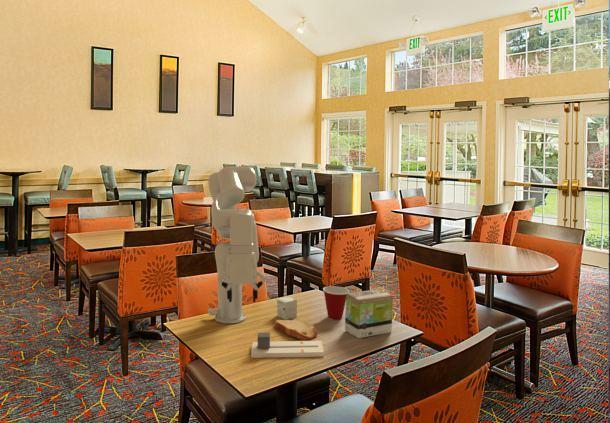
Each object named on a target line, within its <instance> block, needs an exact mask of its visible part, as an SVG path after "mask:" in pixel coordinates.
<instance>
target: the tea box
mask: <svg viewBox="0 0 610 423" xmlns="http://www.w3.org/2000/svg"><path fill="white" fill-rule="evenodd" d="M393 303H394V295H392V294H390V293H388V292H385V291H383V290H381V289H379V288H377V289H371V290H369V289H368V290H363V291H356V292H349V293H347V294H346V302H345V312H344V313H345V316H344V317H345V319H344V320H345V321H344V330H345V331H346V332H347V333H349V334H350V335H352V336H354V337H355V338H357V339H362V338H366V337H373V336H377V335H385V334H390V332H391V333H392V331H393V330H392V328H393V306H394V304H393Z"/></svg>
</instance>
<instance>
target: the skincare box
mask: <svg viewBox="0 0 610 423" xmlns="http://www.w3.org/2000/svg"><path fill="white" fill-rule="evenodd" d="M276 302H277V304H276V307H277V308H276V316H277V317H279V318H281V319H282V320H290V319H291V320H292V319H295V318H298V314H297V313H298V312H297V311H298V309H297V308H298V300H297V299H295V298H293V297H290V296H285V297H281V298H277V300H276Z"/></svg>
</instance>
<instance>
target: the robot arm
mask: <svg viewBox="0 0 610 423" xmlns="http://www.w3.org/2000/svg"><path fill="white" fill-rule="evenodd" d="M257 178H258V177H257V173H256V171H255V169H254V168H253V167H252V166H225V167H223V168H221V169H220V170H219V171H218V172H213V173H211V174H209V176H208V181H207V184H208V190H209V193H210V196H211V199H212V205H211V209H210V210H211V211H210V212H211V219H212V221H211V222H212V225H213V228H214V229H215V230H216V231H217V236H218V237H219V239H222V240H229V241H224V242H221V243H218V244H217V245H216V246H215V249H214V257H215V263H216V270H217V271H216V272H217V298H218V299H217V304H218V306H217V307H216V308H208V309H207V315H208V314H209V315H210V316H214V320H215V322H217V323H220V324H226V325H227V324H229V325H230V324H238V323H241V322H243V321H245V320H246V319H247V315H246V314H245V312H243V292H242V291H243V285H251V286H252V288H253V290H252V302H253V303H256V300H258V297H259V296H258V294H259V293H258V292H259V291H258V289H260V288H261V287H262V286H263V284H264V283H265V282H266V281H267V276H266V275H265V274H263V273H262V272H261V271H259V270H258V262H259V257H260V252H259V251H260V250H259V238H258V226H257V222H256V218H255V214H254V213H253V211H252V210H251V209H248V208H237V207H238V206H237V205H238V204H240V203H241V202H242V201H244V199H245V193H248V192H249V193H250V192H251V191H252V190H254V188H255V187H256V184H257V182H258V180H257ZM258 278H260V280H259V281H258V282H257V280H258Z"/></svg>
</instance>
